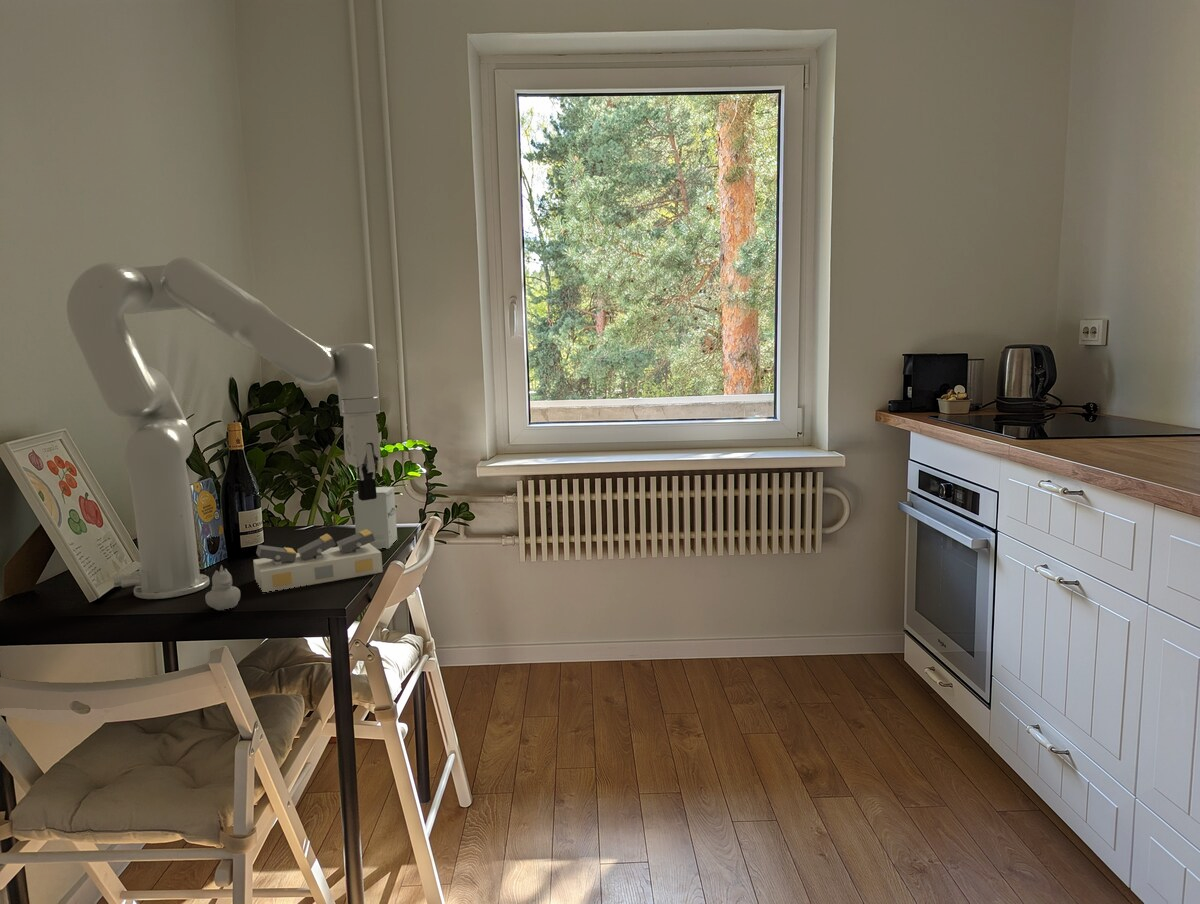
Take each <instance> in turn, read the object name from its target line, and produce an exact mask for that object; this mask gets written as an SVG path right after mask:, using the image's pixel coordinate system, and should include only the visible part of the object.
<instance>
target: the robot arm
mask: <svg viewBox="0 0 1200 904" xmlns="http://www.w3.org/2000/svg"><path fill="white" fill-rule="evenodd" d="M181 309H182V310H183V309H186V310H188V311H189V312H191V313H192V314H194V315H195V316H197V317H199V318H201V319H203V320H204V321H206V322H207V323H208V324H210V325H212V326H213V327H215V328H216V329H218V330H219V331H220V332H222V333H224V334H226V335H227V336H228V337H230V338H232V339H233V340H234V341H236V342H237V343H239V344H240V345H242V346H244V347H247V348H248V349H250V350H252V351H253V352H255V353H256V354H258V355H259V356H261V357H262V358H264V359H266V361H268V362H270V363H272V364H273V365H274V366H276V367H277V368H279V369H281V370H282V371H284V372H285V373H287V374H289V375H290V376H291V377H293V378H296V380H298V381H299V382H302V383H304V384H306V385H311V386H315V385H316V386H317V385H321V384H324V383H325V382H329V381H334V380H335V381H336V382H337V383H336V385H337V395H338V406H339V413H340V414H339V415H340V417H343V444H344V445H343V447H344V460H345V462H346V463H348V464H349V465H351V466H353V467H354V468H355V473H356V479H357V480H356V484H357V491H358V498H359V499H360V500H362V501H364V500H371V499H376V498H377V494H376V487H377V484H376V467H375V465H379V464H380V463H381V446H380V445H381V444H380V438H379V437H380V436H379V428H378V422H377V415H379V414H380V413H381V410H380V409H381V408H380V407H381V406H380V399H379V398H380V395H379V386H378V372H377V363H376V362H377V361H376V360H377V359H376V351H375V348H374V346H373V345H372V344H370V343H367V342H359V343H358V342H356V343H354V342H353V343H341V344H339V345H328V344H327V345H326V344H319V343H318V342H316V341H314V340H313V339H312V338H310V337H308V336H306V335H305V334H304V333H302V332H301V331H299V330H298V329H296V328H295V327H293V326H291V325H290V324H289V323H288V322H286V321H285V320H283V319H282V318H280V317H279V316H278V315H277V314H275V313H274V312H273V311H272V310H271V309H270V308H269V307H268V306H267V305H266V304H265V303H263V302H262V301H261V300H259V299H258V298H256V297H254V296H253V295H252V294H250V293H248V292H247V291H246V290H244V289H242V287H240V286H237V285H236V284H235V283H233V282H232V281H230V280H228V279H227V278H225V277H224V276H222V275H221V274H220V273H218V272H217V271H216V270H213V269H212V268H210V267H209V266H208V265H207V264H205V263H203V262H201V261H200V260H197V259H195V258H193V257H188V256H180V257H176V258H174V259H172V260H170V261H169V262H167V264H164V265H163V264H162V265H161V264H160V265H148V266H136V267H130V266H128V265H124V264H120V263H117V262H108V261H107V262H101V263H98V264H95V265H92V266H91V267H88V268H87V269H86V270H85V271H84V272H82V273H81V274H80V275H79V276H78V277H77V278H76V280H75V281H74V282H73V284H72V285H71V287H70V290H69V292H68V295H67V300H66V314H67V315H66V316H67V319H68V323H69V327H70V329H71V331H72V334H73V336H74V338H75V340H76V343H77V345H78V347H79V349H80V352H81V353H82V356H83V357H84V360H85V362H86V365H87V367H88V369H89V371H90V373H91V375H92V378H93V380H94V382H95V383H96V386H97V388H98V391H99V392H100V394H101V395H100V396H101V397H102V399H103V401H104V404H105V405H106V406H107V408H108V409H109V410H110V411H111V412H112V413H113V414H115V415H117V416H119V417H122V418H126V420H127V423H128V424H129V426H130V429H131V430H132V431H131V433H129V435H128V436H127V439H126V441H125V445H124V450H123V451H124V452H123V453H124V455H123V457H124V463H125V468H126V471H127V475H128V480H129V485H130V492H131V498H132V499H131V500H132V505H133V507H132V508H133V512H134V521H135V522H134V523H135V529H136V530H135V531H136V537H137V539H136V540H137V546H138V556H139V564H140V566H138V570H137V571H132V573H130V574H121V575H113V577H112V578H113V585H114V587H115V588H116V587H121V588H127V587H128V588H129V587H132V586H134V588H133V596H135V597H136V598H139V599H145V600H158V599H159V600H161V599H170V598H177V597H182V596H185V595H190V594H192V593H193V594H194V593H196V592H198V591H201V590H203V589H205V588H207V587H209V585H210V583H211V582H210V581H211V580H210V577H209V575H208V576H207V575H206V574H203V573H200V565H199V564H200V563H199V556H198V545H197V538H196V537H197V536H196V529H195V528H196V527H195V518H194V510H193V509H194V507H193V503H192V502H193V501H192V493H191V492H192V491H191V485H190V479H189V474H188V468H187V462H186V461H187V459H188V458H189V457H190V455H191V453H192V451H193V449H194V445H195V444H194V443H195V441H194V435H193V432H192V430H191V427H190V425H189V422H188V421H187V418H186V416H185V414H184V412H183V409H182V407H181V406H180V403H179V401H178V399H177V397H176V395H175V392H174V391H173V388H172V387H171V384H170V383H169V381H168V379H167V378H166V377H165V376H164V374H163V373H162V372H160V370H158V369H156V368H155V367H152V366H149V365H148V364H147V363H146V361H145V359H144V357H143V356H142V355H143V354H141V352H140V350H139V346H138V345H137V342H136V340H135V337H134V336H133V334H132V332H131V331H130V329H129V327H128V326H127V325H128V324H127V323H126V321H125V314H127V315H129V314H130V315H133V314H135V315H136V314H144V313H145V314H146V313H153V312H161V311H162V312H165V311H173V310H181Z"/></svg>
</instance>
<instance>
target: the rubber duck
mask: <svg viewBox="0 0 1200 904" xmlns="http://www.w3.org/2000/svg"><path fill="white" fill-rule="evenodd" d="M211 583H212V586H211V590H210V591H208V592H206V594H205V597H204V599H205V603H206V604H207V605H208V606H209V607H210V608H213V609H214V610H217V611H221V610H222V611H225V610H224V609H228V610H230V609H229V608H231V609H233V608H235V607H236V606H237V605H238V602H239V601H240V600H241V590H240V589H239V588H238V587H237V586H234V585H233V577H232V575H231V573H230V572H229V571H228V569H227V568H224V567H223V565H222V564H220V567H219V571H218V570H217V569H216V570H215V571H214V573H213V575H212V577H211Z"/></svg>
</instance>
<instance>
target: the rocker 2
mask: <svg viewBox="0 0 1200 904" xmlns="http://www.w3.org/2000/svg"><path fill="white" fill-rule="evenodd" d="M336 544H337V543H336V541H335V540H334V538H333V537H332V536H331V535H330V534H328V533H325V534H323V535H321V536H319V538H317V539H314V540H312V541H311V542H308V543H307V544H305V545H302V546H300V547H299V548H297V553H299V555H300V556H301V558H302V559H303V560H304V561H305V560H307V559H309V558H311V557H313V556H315V555H317V554H319V553H321V552H323V551H325V550H327V549H329V548H333V547H336Z"/></svg>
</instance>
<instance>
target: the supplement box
mask: <svg viewBox="0 0 1200 904" xmlns="http://www.w3.org/2000/svg"><path fill="white" fill-rule="evenodd" d="M376 494H377V498H376V499H371V500H364V501H362V500H360V499H359V498H358V490H357V491H356V492H354V493H352V500H353V512H354V513H353V514H354V526H355V527H354V528H355V534H357V533H359V532H360V531H362V530H365V529H367V530H369V531H370V532H372V533H373V536H374V539H375V541H373V542H370V544H371V545H372V546H374V547H375V548H376V549H378V550H383V549H382V548H386V549H385V550H388V549H390V548H391V547H392V546H393V545H394V544H395V543H396V542H397V541H398V530H397V529H398V528H397V527H398V526H397V514H396V513H397V512H396V499H395V487H394V486H378V487H377V486H376ZM396 540H397V541H396ZM395 541H396V542H395ZM394 542H395V543H394ZM393 543H394V544H393Z"/></svg>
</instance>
